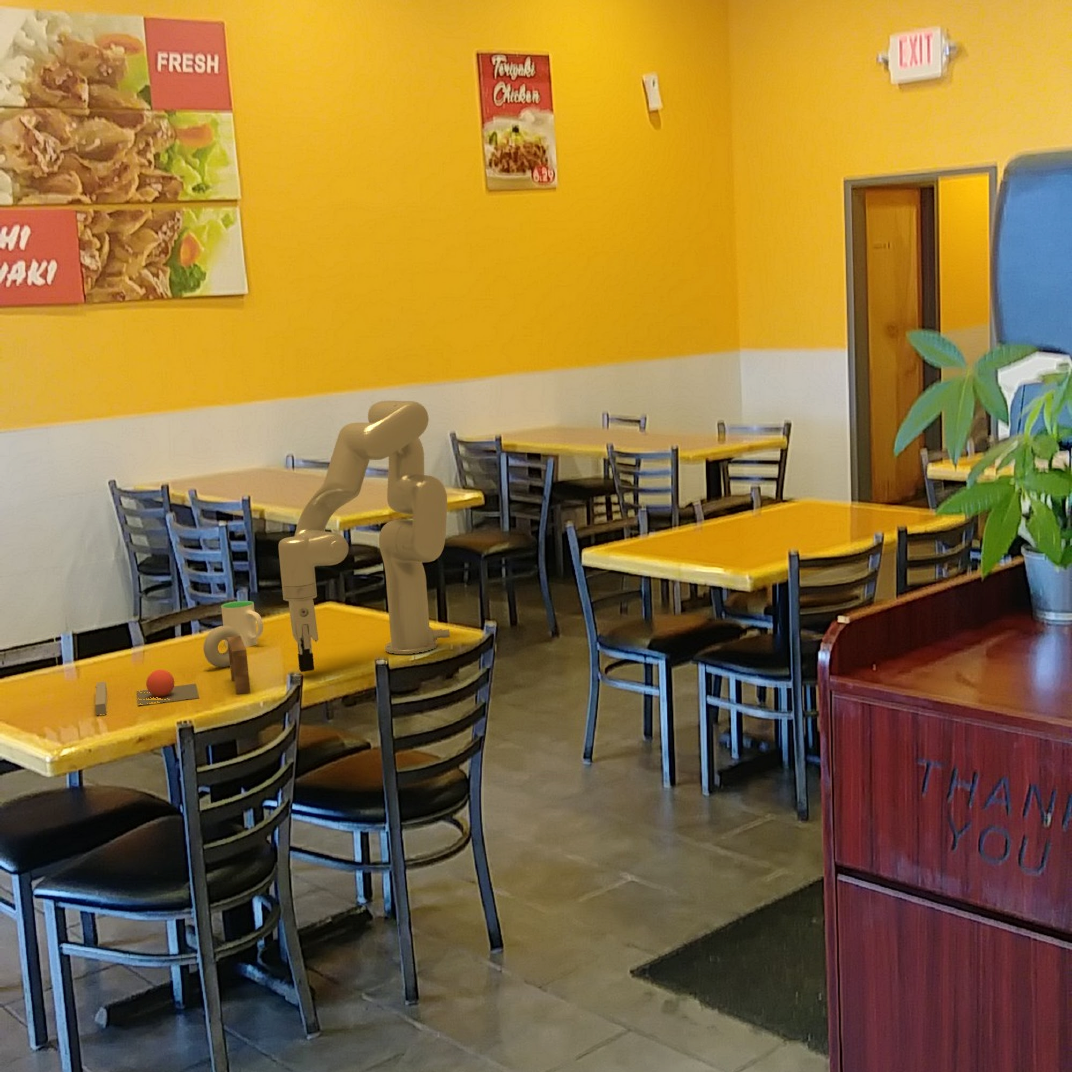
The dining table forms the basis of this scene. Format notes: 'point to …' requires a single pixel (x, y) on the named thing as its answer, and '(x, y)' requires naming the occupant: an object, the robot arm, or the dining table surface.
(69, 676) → the dining table surface
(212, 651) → the donut
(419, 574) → the robot arm
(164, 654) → the dining table surface
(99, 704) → the stopper wall
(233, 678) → the bridge
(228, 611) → the mug
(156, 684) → the ball
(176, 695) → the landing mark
